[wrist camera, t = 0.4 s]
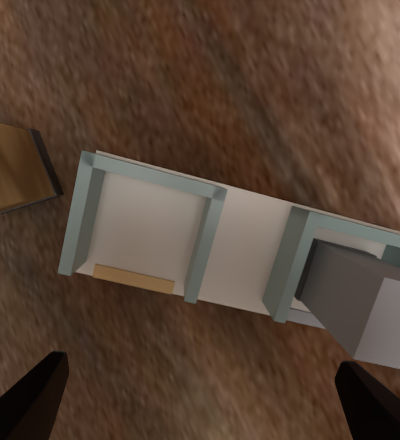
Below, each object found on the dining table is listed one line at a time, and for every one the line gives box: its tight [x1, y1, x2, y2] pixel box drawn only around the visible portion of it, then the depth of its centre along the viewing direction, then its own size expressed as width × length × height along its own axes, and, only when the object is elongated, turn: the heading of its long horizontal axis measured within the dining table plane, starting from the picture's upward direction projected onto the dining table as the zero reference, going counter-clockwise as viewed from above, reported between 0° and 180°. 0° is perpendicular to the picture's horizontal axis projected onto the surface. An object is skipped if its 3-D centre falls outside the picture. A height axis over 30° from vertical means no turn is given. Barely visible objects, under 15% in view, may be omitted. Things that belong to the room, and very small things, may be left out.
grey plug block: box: [294, 238, 400, 369], centre depth 18 cm, size 5×5×8 cm
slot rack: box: [58, 151, 400, 329], centre depth 21 cm, size 9×24×4 cm, turn 75°
